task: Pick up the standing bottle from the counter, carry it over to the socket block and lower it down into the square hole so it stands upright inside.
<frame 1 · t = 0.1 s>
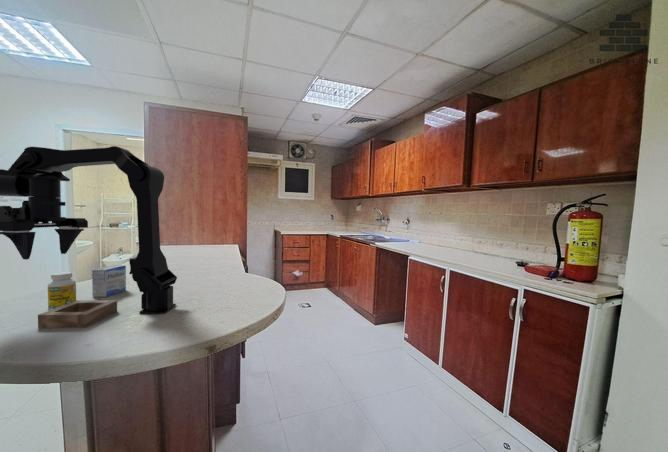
hand: (46, 256, 69), 15 cm above the table, tool pointing down, fingers open, 9 cm apart
medicine box: (109, 294, 85), on the table
supplement bottle: (62, 308, 72), on the table
socket block: (80, 318, 65), on the table
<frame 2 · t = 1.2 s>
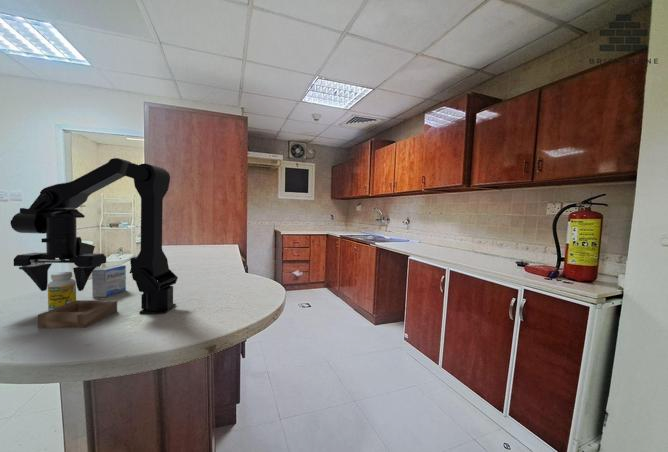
hand: (62, 290, 71), 5 cm above the table, tool pointing down, fingers open, 9 cm apart
nothing on the table moved.
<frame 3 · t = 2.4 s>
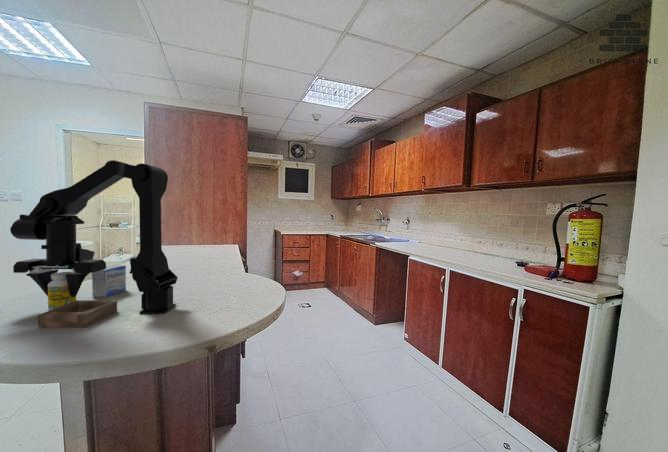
hand: (62, 296, 71), 3 cm above the table, tool pointing down, fingers closed on supplement bottle, 5 cm apart
supplement bottle: (62, 308, 72), on the table, touching gripper
everything else where it was.
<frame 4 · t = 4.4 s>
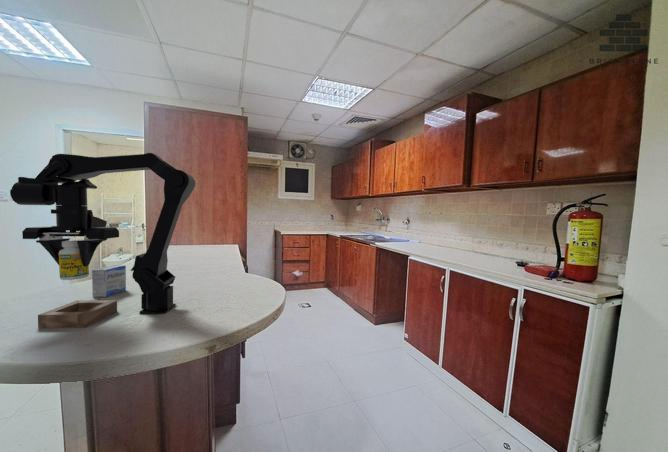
hand: (74, 266, 67), 13 cm above the table, tool pointing down, fingers closed on supplement bottle, 5 cm apart
supplement bottle: (74, 278, 67), point 9 cm above the table, touching gripper
everything else where it was.
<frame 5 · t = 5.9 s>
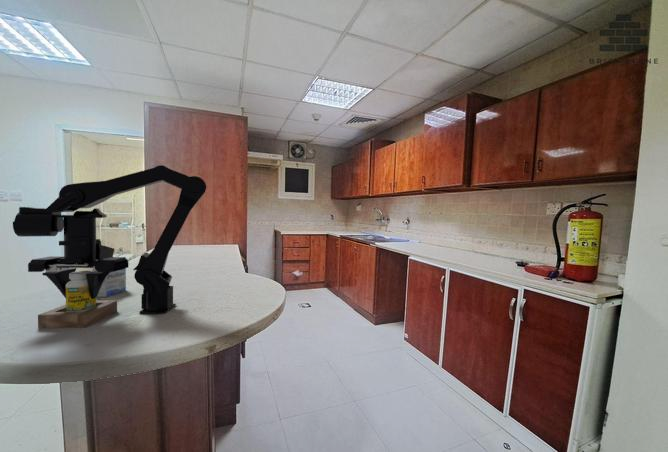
hand: (81, 298, 65), 5 cm above the table, tool pointing down, fingers closed on supplement bottle, 5 cm apart
supplement bottle: (81, 311, 65), point 2 cm above the table, touching gripper
everything else where it was.
when the fingers open (4 cm above the table, at t = 6.8 s): supplement bottle drops 1 cm, resting in socket block.
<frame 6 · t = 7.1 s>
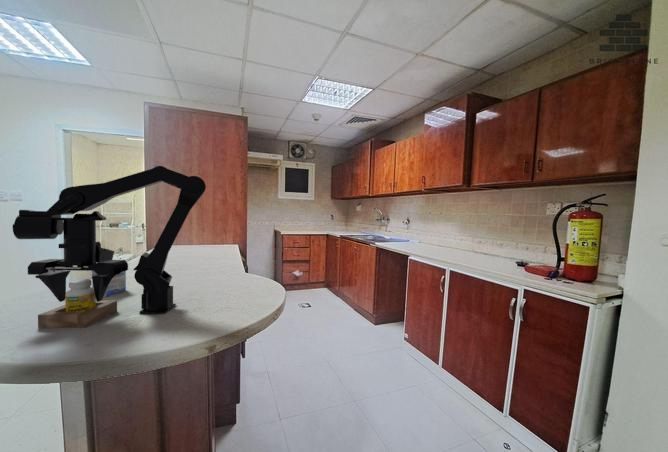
hand: (80, 301, 65), 4 cm above the table, tool pointing down, fingers open, 8 cm apart
supplement bottle: (81, 319, 65), resting in socket block
everything else where it was.
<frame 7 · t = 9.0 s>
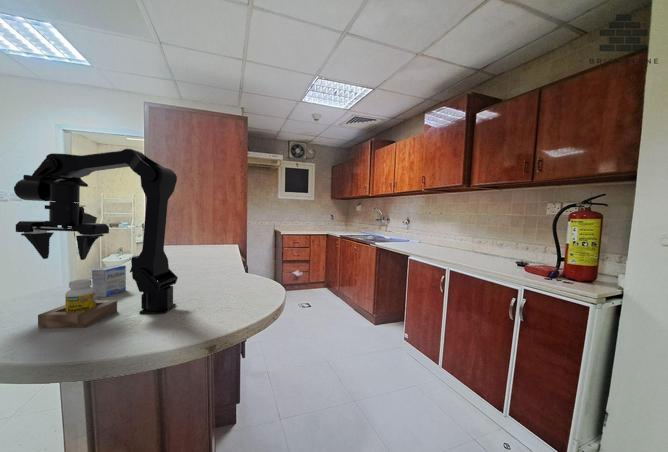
hand: (64, 259, 71), 13 cm above the table, tool pointing down, fingers open, 9 cm apart
nothing on the table moved.
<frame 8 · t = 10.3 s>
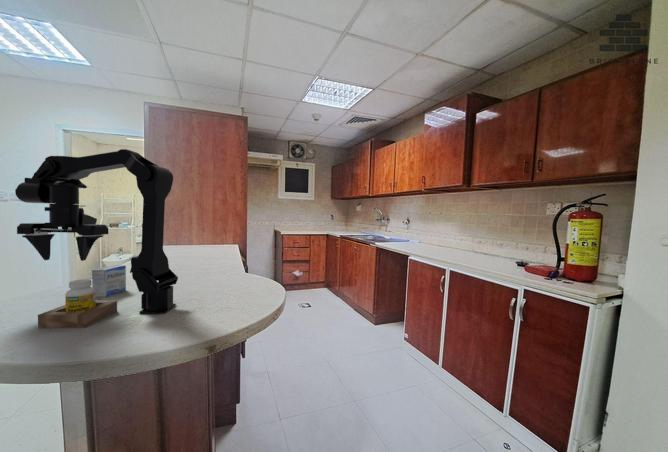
hand: (65, 260, 72), 13 cm above the table, tool pointing down, fingers open, 9 cm apart
nothing on the table moved.
at the end: supplement bottle 0.0 cm off-centre on the socket block, point 0.0 cm above the socket block's base; supplement bottle tilted 0°; the gripper is holding nothing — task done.
